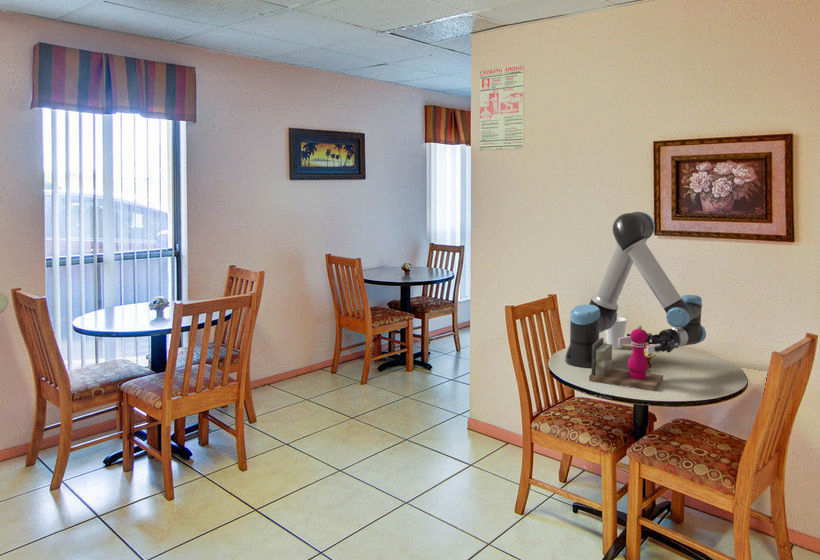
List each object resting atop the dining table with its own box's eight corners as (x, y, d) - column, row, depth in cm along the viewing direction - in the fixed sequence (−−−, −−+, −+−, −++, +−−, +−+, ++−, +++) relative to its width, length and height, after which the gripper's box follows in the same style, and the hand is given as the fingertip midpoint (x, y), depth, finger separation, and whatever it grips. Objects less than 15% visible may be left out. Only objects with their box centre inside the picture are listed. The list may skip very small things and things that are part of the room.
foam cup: (608, 343, 295) (608, 316, 293) (628, 346, 289) (629, 318, 287) (601, 348, 287) (601, 319, 285) (621, 350, 282) (622, 322, 280)
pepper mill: (623, 374, 242) (625, 323, 239) (642, 373, 243) (644, 322, 240) (632, 380, 235) (634, 327, 232) (650, 379, 236) (653, 327, 233)
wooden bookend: (589, 380, 242) (590, 345, 240) (599, 371, 254) (600, 336, 251) (655, 391, 229) (657, 353, 227) (663, 380, 241) (664, 344, 239)
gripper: (699, 355, 235) (659, 364, 225) (646, 340, 257) (607, 348, 247) (701, 335, 234) (660, 343, 224) (647, 322, 256) (608, 329, 246)
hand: (632, 345), depth 236 cm, fingers open, 13 cm apart
